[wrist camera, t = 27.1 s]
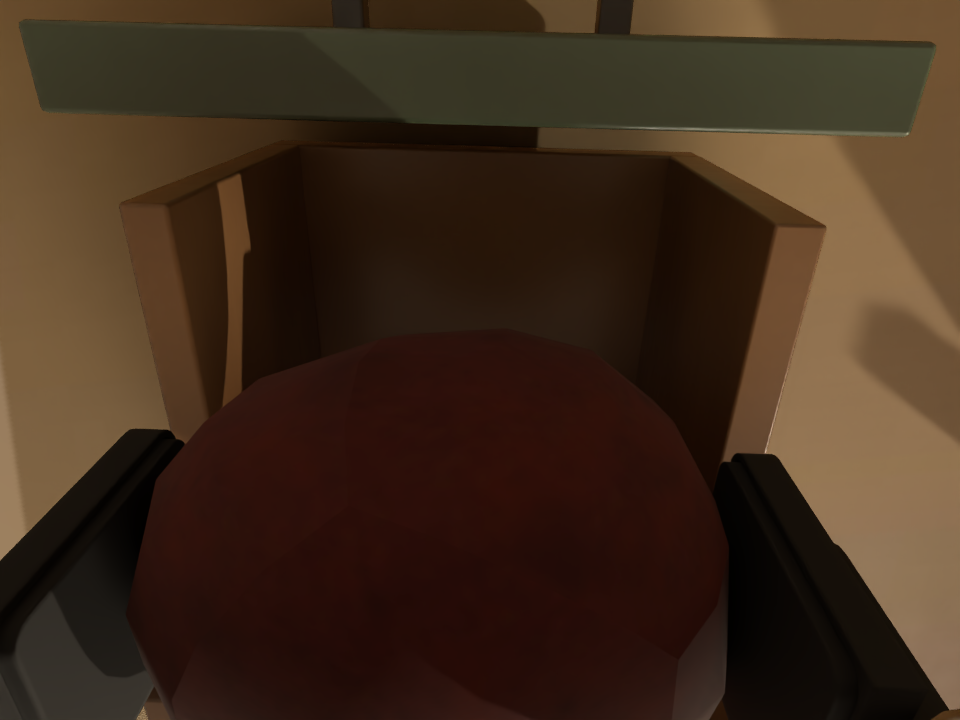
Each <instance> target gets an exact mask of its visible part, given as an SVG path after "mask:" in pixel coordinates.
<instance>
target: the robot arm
mask: <svg viewBox="0 0 960 720" xmlns="http://www.w3.org/2000/svg"><path fill="white" fill-rule="evenodd" d="M184 445H185V443H184V442H183V441H182V440H180V439H176V438H175V435H174V434H173V433H172V432H171V431H169V430H158V429H130V430H129V431H127V432H126V433H125V434H124V435H123V436H122V437H121V438H120V439H119V440H118V441H117V442H116V443H115V444H114V445H113V446H112V447H111V448H110V449H109V450H108V451H107V452H106V453H105V454H104V455H103V456H102V457H101V458H100V459H99V460H98V461H97V462H96V463H95V464H94V465H93V467H92V468H91V469H90V470H89V471H88V472H87V473H86V474H85V475H84V476H83V477H82V478H81V479H80V480H79V481H78V482H77V483H76V484H75V485H74V486H73V487H72V488H71V489H70V490H69V491H68V492H67V493H66V494H65V495H64V496H63V497H62V498H61V499H60V500H59V501H58V502H57V503H56V504H55V505H54V506H53V507H52V508H51V509H50V510H49V511H48V513H47V514H46V515H45V516H44V517H43V518H42V519H41V520H40V521H39V522H38V523H37V524H36V525H35V526H34V527H33V528H32V529H31V530H30V531H29V532H28V533H27V534H26V535H25V536H24V537H23V538H22V539H21V540H20V541H19V542H18V543H17V544H16V545H15V546H14V547H13V548H12V549H11V550H10V551H9V552H8V553H7V554H6V555H5V556H4V557H3V558H2V560H1V561H0V720H136V719H137V717H138V715H139V713H140V711H141V709H142V708H143V706H144V704H145V702H146V700H147V699H148V697H149V695H150V693H151V691H152V689H153V688H154V685H153V683H152V680H151V678H150V676H149V674H148V672H147V670H146V668H145V666H144V664H143V661H142V659H141V656H140V653H139V650H138V648H137V645H136V642H135V639H134V637H133V634H132V631H131V629H130V626H129V623H128V620H127V618H126V615H125V614H126V610H127V606H128V601H129V597H130V592H131V588H132V583H133V579H134V575H135V570H136V566H137V561H138V557H139V553H140V548H141V544H142V539H143V535H144V531H145V526H146V522H147V517H148V513H149V508H150V504H151V500H152V495H153V491H154V486H155V482H156V479H157V478H158V476H159V475H160V474H161V473H162V472H163V470H164V469H165V468H166V467H167V466H168V465H169V463H170V462H171V461H172V460H173V459H174V457H175V456H176V455H177V454H178V453H179V451H180V450H181V449H182V448H183V447H184ZM713 497H714V499H715V501H716V504H717V508H718V511H719V514H720V518H721V521H722V524H723V527H724V531H725V534H726V537H727V541H728V544H729V597H728V653H727V667H726V681H725V694H724V695H723V697H722V702H723V705H724V708H725V711H726V714H727V717H728V720H960V709H957V710H949V709H948V707H947V706H946V704H945V703H944V701H943V700H942V698H941V697H940V695H939V694H938V692H937V691H936V689H935V688H934V686H933V685H932V683H931V682H930V680H929V679H928V677H927V676H926V674H925V673H924V671H923V670H922V668H921V667H920V665H919V664H918V662H917V661H916V659H915V658H914V656H913V655H912V653H911V652H910V650H909V648H908V647H907V645H906V644H905V642H904V641H903V639H902V638H901V636H900V635H899V633H898V632H897V630H896V629H895V627H894V626H893V624H892V623H891V621H890V620H889V618H888V617H887V615H886V614H885V612H884V611H883V609H882V608H881V606H880V605H879V603H878V602H877V600H876V599H875V597H874V596H873V594H872V593H871V591H870V590H869V588H868V587H867V585H866V584H865V582H864V581H863V579H862V578H861V576H860V575H859V573H858V571H857V570H856V568H855V567H854V565H853V564H852V562H851V561H850V559H849V558H848V556H847V555H846V554H845V552H844V551H843V550H842V549H841V548H840V547H839V546H838V545H836V544H834V543H833V541H832V540H831V538H830V537H829V535H828V534H827V532H826V531H825V529H824V528H823V526H822V525H821V523H820V522H819V520H818V518H817V517H816V515H815V514H814V512H813V511H812V509H811V508H810V506H809V505H808V503H807V502H806V500H805V499H804V497H803V495H802V494H801V492H800V491H799V489H798V488H797V486H796V485H795V483H794V482H793V480H792V479H791V477H790V476H789V474H788V472H787V471H786V469H785V468H784V466H783V465H782V463H781V462H780V460H779V459H778V458H777V457H776V456H775V455H772V454H753V453H736V454H734V455H733V457H732V458H731V461H730V462H722V463H721V465H720V467H719V470H718V474H717V478H716V482H715V486H714V491H713Z"/></svg>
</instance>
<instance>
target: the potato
mask: <svg viewBox="0 0 960 720" xmlns="http://www.w3.org/2000/svg"><path fill="white" fill-rule="evenodd" d="M728 597H729V544H728V541H727V537H726V534H725V531H724V527H723V524H722V521H721V518H720V514H719V511H718V508H717V504H716V501H715V499H714V497H713V495H712V493H711V491H710V490H709V488H708V486H707V484H706V482H705V480H704V478H703V476H702V474H701V472H700V471H699V469H698V467H697V465H696V463H695V461H694V459H693V457H692V455H691V453H690V451H689V450H688V448H687V446H686V444H685V442H684V440H683V438H682V436H681V434H680V432H679V430H678V429H677V427H676V425H675V423H674V421H673V420H672V419H671V418H670V417H669V416H668V415H667V414H666V413H665V412H664V411H663V410H662V409H661V408H660V407H659V406H658V405H657V404H656V403H655V402H654V400H652V399H651V398H650V397H649V396H647V395H646V394H645V393H644V392H643V391H641V390H640V389H639V388H638V387H636V386H635V385H634V384H633V383H631V382H630V381H629V380H628V379H627V378H625V377H624V376H623V375H622V374H620V373H619V372H618V371H617V370H615V369H614V368H613V367H612V366H611V365H609V364H608V363H607V362H606V361H604V360H603V359H602V358H601V357H599V356H598V355H597V354H596V353H595V352H593V351H592V350H590V349H586V348H582V347H578V346H574V345H570V344H566V343H562V342H559V341H555V340H551V339H547V338H543V337H539V336H535V335H531V334H527V333H523V332H519V331H516V330H512V329H508V328H500V329H484V330H468V331H452V332H437V333H421V334H405V335H397V336H392V337H387V338H382V339H379V340H376V341H373V342H369V343H366V344H363V345H360V346H357V347H354V348H351V349H348V350H345V351H342V352H339V353H336V354H333V355H330V356H327V357H324V358H321V359H318V360H315V361H311V362H308V363H305V364H302V365H299V366H296V367H293V368H290V369H287V370H284V371H281V372H278V373H275V374H272V375H269V376H266V377H263V378H260V379H258V380H257V381H255V382H254V383H253V384H252V385H250V386H249V387H248V388H247V389H245V390H244V391H243V392H241V393H240V394H239V395H238V396H236V397H235V398H234V399H233V400H231V401H230V402H229V403H228V404H226V405H225V406H224V407H222V408H221V409H220V410H219V411H217V412H216V413H215V414H214V415H212V416H211V417H210V418H209V419H207V420H206V421H205V422H204V423H203V424H202V425H201V426H200V428H199V429H198V430H197V431H196V432H195V434H194V435H193V436H192V437H191V438H190V440H189V441H188V442H187V443H186V444H185V445H184V447H183V448H182V449H181V450H180V451H179V453H178V454H177V455H176V456H175V457H174V459H173V460H172V461H171V462H170V463H169V465H168V466H167V467H166V468H165V469H164V470H163V472H162V473H161V474H160V475H159V476H158V478H157V479H156V482H155V486H154V491H153V495H152V500H151V504H150V508H149V513H148V517H147V522H146V526H145V531H144V535H143V539H142V544H141V548H140V553H139V557H138V561H137V566H136V570H135V575H134V579H133V583H132V588H131V592H130V597H129V601H128V606H127V610H126V614H125V615H126V618H127V620H128V623H129V626H130V629H131V631H132V634H133V637H134V639H135V642H136V645H137V648H138V650H139V653H140V656H141V659H142V661H143V664H144V666H145V668H146V670H147V672H148V674H149V676H150V678H151V680H152V683H153V685H154V687H155V689H156V691H157V693H158V695H159V697H160V699H161V701H162V703H163V705H164V707H165V709H166V711H167V713H168V715H169V717H170V719H171V720H709V719H710V717H711V715H712V714H713V712H714V710H715V709H716V707H717V705H718V704H719V702H720V700H721V699H722V697H723V695H724V694H725V681H726V667H727V653H728Z"/></svg>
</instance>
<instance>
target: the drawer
mask: <svg viewBox="0 0 960 720" xmlns="http://www.w3.org/2000/svg"><path fill="white" fill-rule="evenodd" d="M633 2H634V0H598V2H597V12H596V23H595V33H556V32H515V31H474V30H434V29H393V28H370V26H369V6H368V0H332V13H333V27H311V26H271V25H230V24H189V23H149V22H108V21H67V20H27V19H25V20H23V21H21V22H19V28H20V32H21V35H22V39H23V43H24V47H25V50H26V54H27V58H28V62H29V65H30V69H31V73H32V77H33V80H34V84H35V88H36V92H37V95H38V99H39V103H40V107H41V108H42V110H43V111H46V112H48V113H69V114H103V115H138V116H173V117H208V118H243V119H278V120H312V121H347V122H382V123H417V124H452V125H486V126H521V127H556V128H591V129H626V130H661V131H695V132H730V133H765V134H800V135H835V136H870V137H904V136H907V135H909V133H910V132H911V129H912V126H913V123H914V120H915V116H916V113H917V110H918V107H919V103H920V100H921V97H922V94H923V90H924V87H925V84H926V81H927V77H928V74H929V71H930V68H931V64H932V61H933V58H934V55H935V51H936V45H935V44H934V43H932V42H922V41H881V40H841V39H800V38H759V37H719V36H678V35H637V34H630V29H631V20H632V11H633ZM119 209H120V213H121V217H122V222H123V226H124V230H125V235H126V239H127V243H128V248H129V252H130V256H131V261H132V265H133V269H134V274H135V278H136V282H137V287H138V291H139V295H140V300H141V304H142V309H143V313H144V317H145V322H146V326H147V330H148V335H149V339H150V343H151V348H152V352H153V356H154V361H155V365H156V369H157V374H158V378H159V382H160V387H161V391H162V395H163V400H164V404H165V409H166V413H167V417H168V422H169V426H170V430H171V432H172V433H173V434H174V435H175V438H176V439H180V440H182V441H183V442H184V443H185V444H186V443H187V442H188V441H189V440H190V438H191V437H192V436H193V435H194V434H195V432H196V431H197V430H198V429H199V428H200V426H201V425H202V424H203V423H204V422H205V421H206V420H207V419H209V418H210V417H211V416H212V415H214V414H215V413H216V412H217V411H219V410H220V409H221V408H222V407H224V406H225V405H226V404H228V403H229V402H230V401H231V400H233V399H234V398H235V397H236V396H238V395H239V394H240V393H241V392H243V391H244V390H245V389H247V388H248V387H249V386H250V385H252V384H253V383H254V382H255V381H257V380H258V379H260V378H263V377H266V376H269V375H272V374H275V373H278V372H281V371H284V370H287V369H290V368H293V367H296V366H299V365H302V364H305V363H308V362H311V361H315V360H318V359H321V358H324V357H327V356H330V355H333V354H336V353H339V352H342V351H345V350H348V349H351V348H354V347H357V346H360V345H363V344H366V343H369V342H373V341H376V340H379V339H382V338H387V337H392V336H397V335H405V334H421V333H437V332H452V331H468V330H484V329H500V328H508V329H512V330H516V331H519V332H523V333H527V334H531V335H535V336H539V337H543V338H547V339H551V340H555V341H559V342H562V343H566V344H570V345H574V346H578V347H582V348H586V349H590V350H592V351H593V352H595V353H596V354H597V355H598V356H599V357H601V358H602V359H603V360H604V361H606V362H607V363H608V364H609V365H611V366H612V367H613V368H614V369H615V370H617V371H618V372H619V373H620V374H622V375H623V376H624V377H625V378H627V379H628V380H629V381H630V382H631V383H633V384H634V385H635V386H636V387H638V388H639V389H640V390H641V391H643V392H644V393H645V394H646V395H647V396H649V397H650V398H651V399H652V400H654V402H655V403H656V404H657V405H658V406H659V407H660V408H661V409H662V410H663V411H664V412H665V413H666V414H667V415H668V416H669V417H670V418H671V419H672V420H673V421H674V423H675V425H676V427H677V429H678V430H679V432H680V434H681V436H682V438H683V440H684V442H685V444H686V446H687V448H688V450H689V451H690V453H691V455H692V457H693V459H694V461H695V463H696V465H697V467H698V469H699V471H700V472H701V474H702V476H703V478H704V480H705V482H706V484H707V486H708V488H709V490H710V491H711V493H712V495H713V491H714V486H715V482H716V478H717V474H718V470H719V467H720V465H721V463H722V462H730V461H731V458H732V457H733V455H734V454H736V453H753V454H766V452H767V448H768V444H769V440H770V437H771V433H772V429H773V426H774V422H775V418H776V414H777V411H778V407H779V403H780V400H781V396H782V392H783V388H784V385H785V381H786V377H787V374H788V370H789V366H790V363H791V359H792V355H793V351H794V348H795V344H796V340H797V337H798V333H799V329H800V325H801V322H802V318H803V314H804V311H805V307H806V303H807V299H808V296H809V292H810V288H811V285H812V281H813V277H814V273H815V270H816V266H817V262H818V259H819V255H820V251H821V248H822V244H823V240H824V236H825V233H826V226H825V225H823V224H822V223H820V222H818V221H816V220H814V219H813V218H811V217H809V216H807V215H805V214H803V213H802V212H800V211H798V210H796V209H794V208H793V207H791V206H789V205H787V204H785V203H783V202H782V201H780V200H778V199H776V198H774V197H773V196H771V195H769V194H767V193H765V192H763V191H762V190H760V189H758V188H756V187H754V186H753V185H751V184H749V183H747V182H745V181H743V180H742V179H740V178H738V177H736V176H734V175H733V174H731V173H729V172H727V171H725V170H723V169H722V168H720V167H718V166H716V165H714V164H713V163H711V162H709V161H707V160H705V159H703V158H702V157H699V156H697V155H695V154H693V153H691V152H661V151H627V150H593V149H559V148H526V147H492V146H458V145H424V144H391V143H357V142H323V141H289V140H281V141H279V142H276V143H273V144H271V145H268V146H265V147H263V148H260V149H258V150H255V151H253V152H250V153H247V154H245V155H242V156H240V157H237V158H234V159H232V160H229V161H227V162H224V163H222V164H219V165H216V166H214V167H211V168H209V169H206V170H204V171H201V172H198V173H196V174H193V175H191V176H188V177H186V178H183V179H180V180H178V181H175V182H173V183H170V184H168V185H165V186H162V187H160V188H157V189H155V190H152V191H150V192H147V193H144V194H142V195H139V196H137V197H134V198H132V199H129V200H126V201H124V202H121V203H120V205H119Z"/></svg>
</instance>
